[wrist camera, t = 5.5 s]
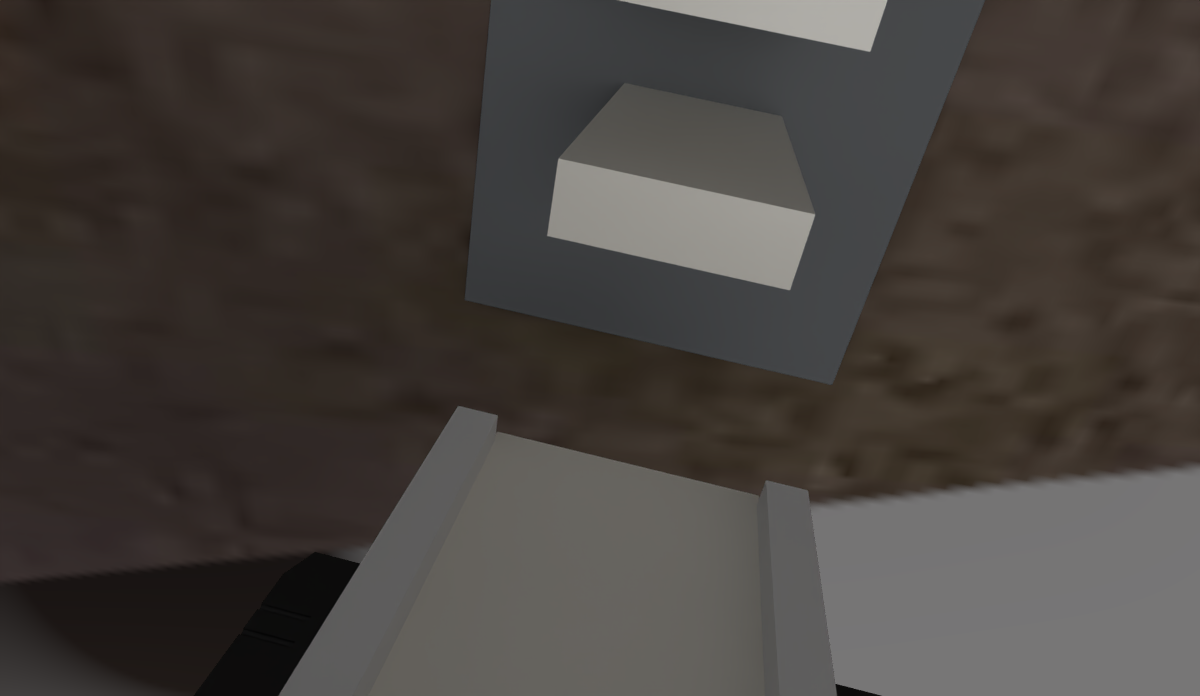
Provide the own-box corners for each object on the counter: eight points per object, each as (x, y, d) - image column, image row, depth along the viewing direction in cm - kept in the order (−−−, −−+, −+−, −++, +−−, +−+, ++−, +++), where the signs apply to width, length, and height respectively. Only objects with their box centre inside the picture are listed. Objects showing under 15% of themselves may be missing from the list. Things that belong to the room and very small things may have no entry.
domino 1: (615, 133, 23) (546, 235, 15) (624, 82, 22) (558, 158, 14) (767, 166, 23) (789, 290, 14) (781, 116, 22) (815, 214, 14)
